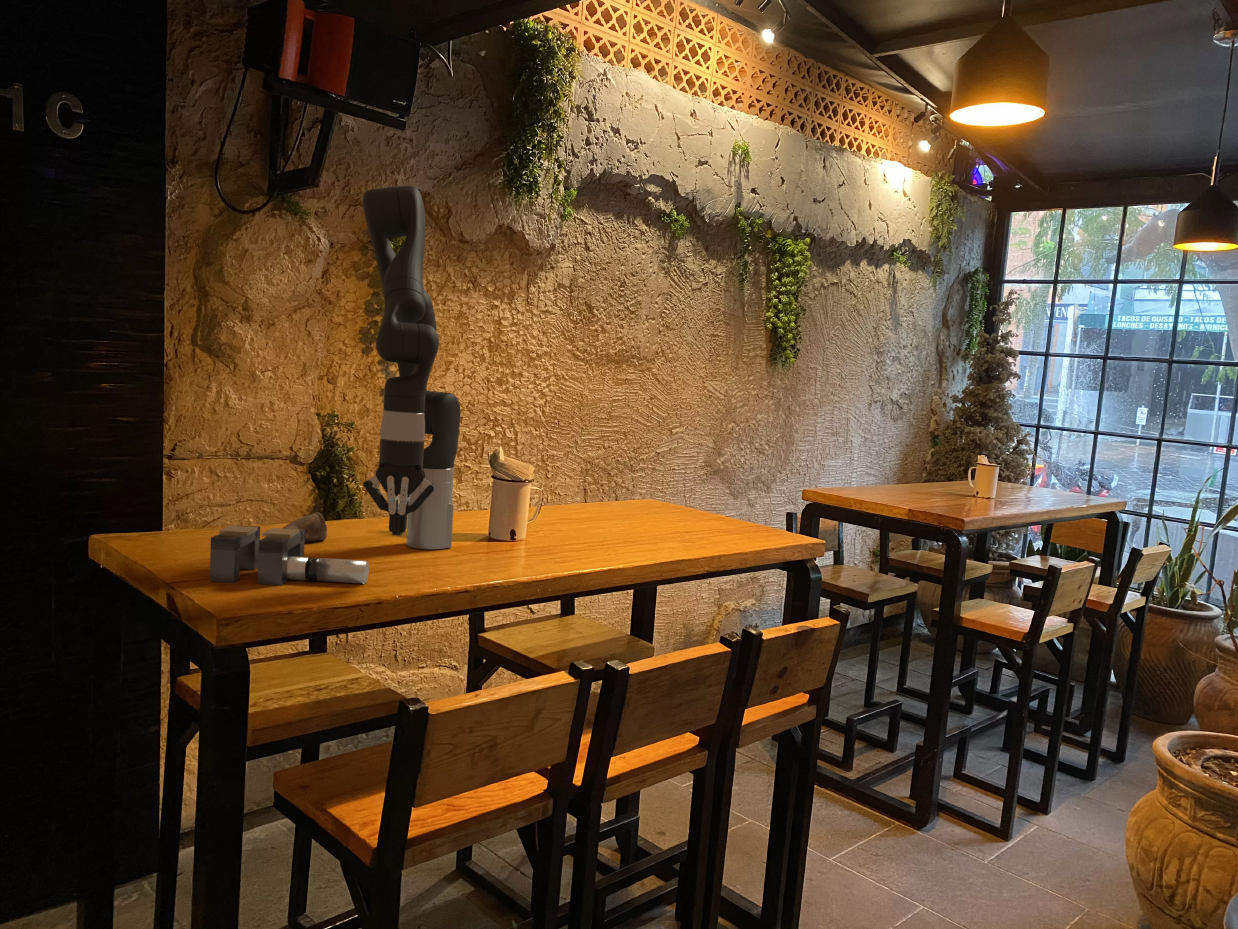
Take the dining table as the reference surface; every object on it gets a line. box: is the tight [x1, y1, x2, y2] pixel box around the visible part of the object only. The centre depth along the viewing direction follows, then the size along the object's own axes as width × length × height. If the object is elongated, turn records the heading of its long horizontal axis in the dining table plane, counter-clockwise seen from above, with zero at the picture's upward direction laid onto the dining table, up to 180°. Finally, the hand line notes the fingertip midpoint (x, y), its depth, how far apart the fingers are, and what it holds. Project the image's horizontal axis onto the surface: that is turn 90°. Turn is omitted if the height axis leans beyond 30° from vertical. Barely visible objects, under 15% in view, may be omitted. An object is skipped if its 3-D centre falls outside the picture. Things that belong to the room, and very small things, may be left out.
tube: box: [287, 556, 370, 585], centre depth 154 cm, size 18×4×4 cm
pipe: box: [282, 511, 328, 544], centre depth 181 cm, size 6×17×10 cm
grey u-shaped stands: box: [209, 524, 306, 586], centre depth 155 cm, size 12×12×8 cm
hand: (397, 534), depth 155 cm, fingers closed
